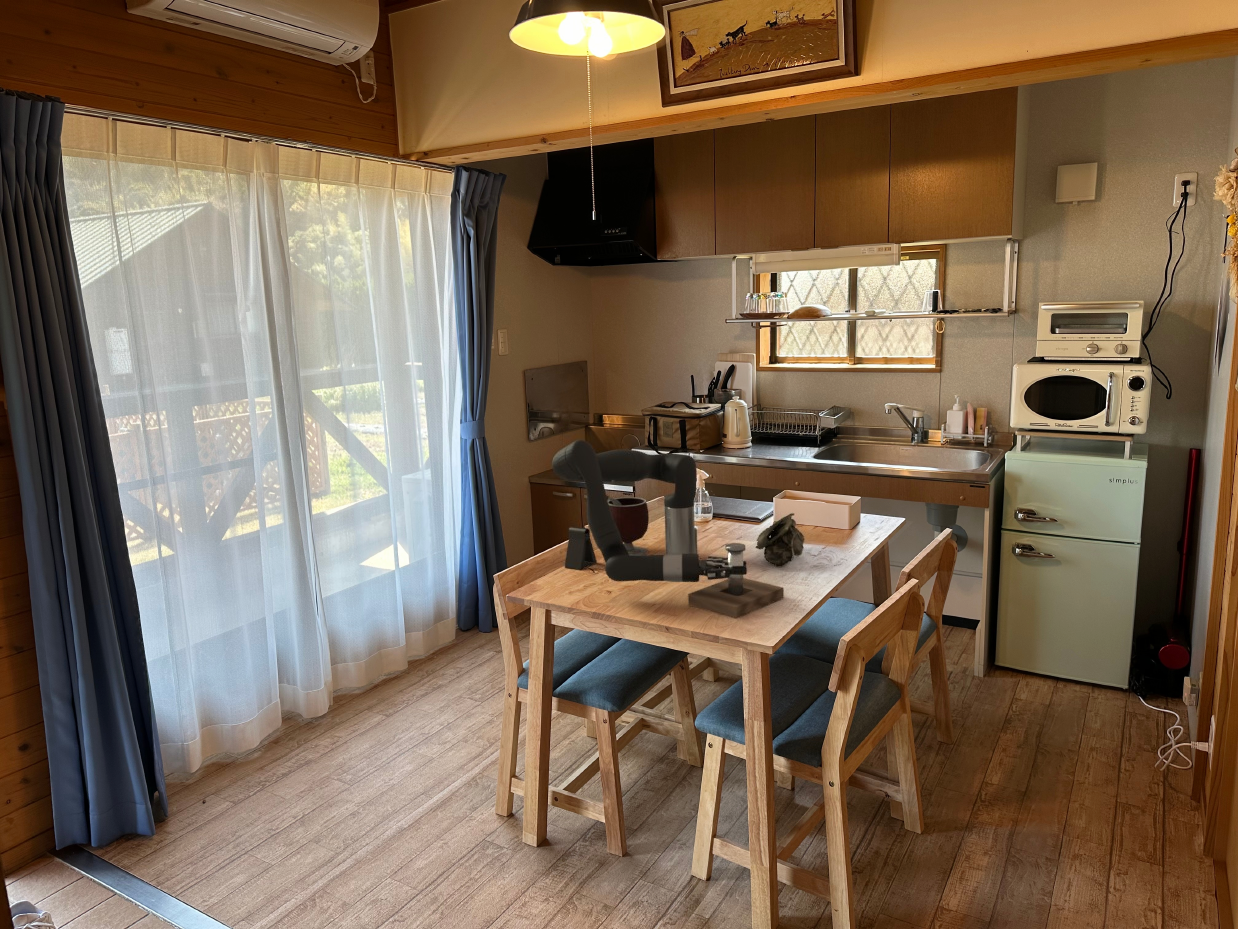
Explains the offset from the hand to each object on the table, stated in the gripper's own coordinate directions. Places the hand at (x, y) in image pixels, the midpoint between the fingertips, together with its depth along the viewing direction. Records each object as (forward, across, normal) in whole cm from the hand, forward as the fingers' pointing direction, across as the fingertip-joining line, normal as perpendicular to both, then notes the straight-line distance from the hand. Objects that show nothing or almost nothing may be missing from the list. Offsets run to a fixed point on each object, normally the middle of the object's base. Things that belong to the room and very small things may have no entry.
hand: (746, 567), depth 226 cm
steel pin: (-3, 0, +8) cm, 8 cm away
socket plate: (-3, 0, +9) cm, 10 cm away
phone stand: (-50, +34, +10) cm, 61 cm away
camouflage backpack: (+11, +40, +10) cm, 43 cm away
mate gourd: (-37, +47, +10) cm, 60 cm away
